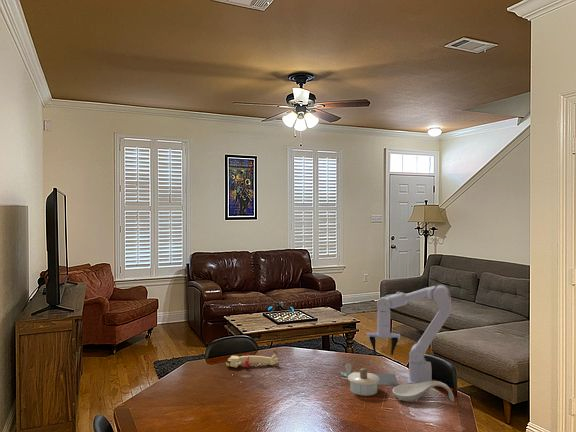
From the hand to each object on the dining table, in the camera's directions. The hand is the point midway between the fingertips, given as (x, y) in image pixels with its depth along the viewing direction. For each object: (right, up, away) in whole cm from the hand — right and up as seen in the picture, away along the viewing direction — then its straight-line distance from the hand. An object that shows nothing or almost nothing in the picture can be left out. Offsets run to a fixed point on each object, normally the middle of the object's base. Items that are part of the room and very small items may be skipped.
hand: (383, 354), depth 210 cm
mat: (-2, -10, -4) cm, 11 cm away
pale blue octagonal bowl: (-12, -11, -17) cm, 23 cm away
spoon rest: (+11, -11, -24) cm, 29 cm away
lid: (-11, -6, -16) cm, 21 cm away
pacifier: (-16, -11, -1) cm, 19 cm away
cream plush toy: (-60, -11, +16) cm, 63 cm away
